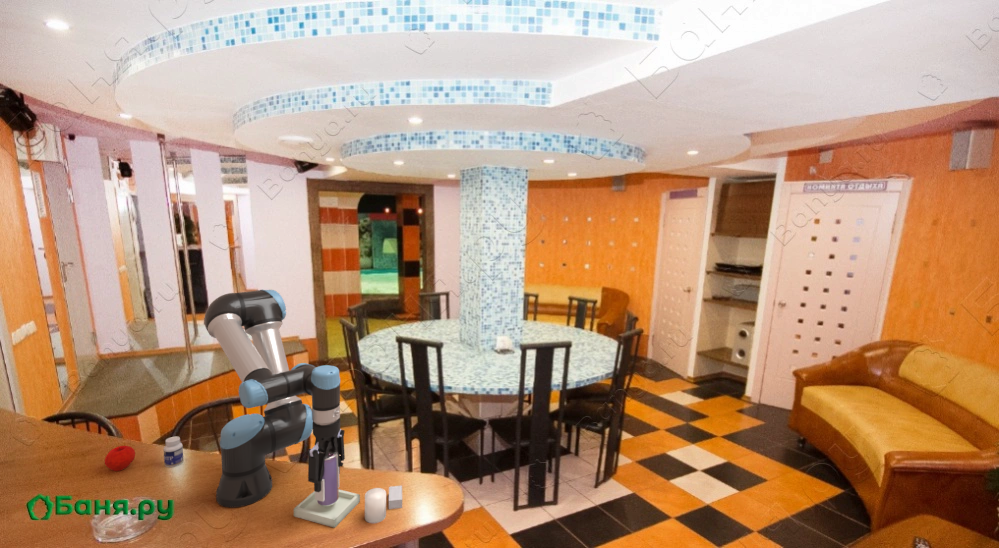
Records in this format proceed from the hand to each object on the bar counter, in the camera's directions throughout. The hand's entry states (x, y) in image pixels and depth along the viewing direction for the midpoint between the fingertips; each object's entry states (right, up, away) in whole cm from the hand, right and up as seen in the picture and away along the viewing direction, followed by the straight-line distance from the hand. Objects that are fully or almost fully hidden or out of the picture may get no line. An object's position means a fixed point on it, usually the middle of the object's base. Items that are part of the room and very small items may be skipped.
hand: (327, 492), depth 130 cm
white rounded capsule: (+15, -6, -2) cm, 16 cm away
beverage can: (0, -3, 0) cm, 3 cm away
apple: (-76, 0, +17) cm, 78 cm away
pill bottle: (-61, 0, +21) cm, 64 cm away
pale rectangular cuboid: (+19, -6, +6) cm, 20 cm away
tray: (0, -5, +1) cm, 5 cm away
